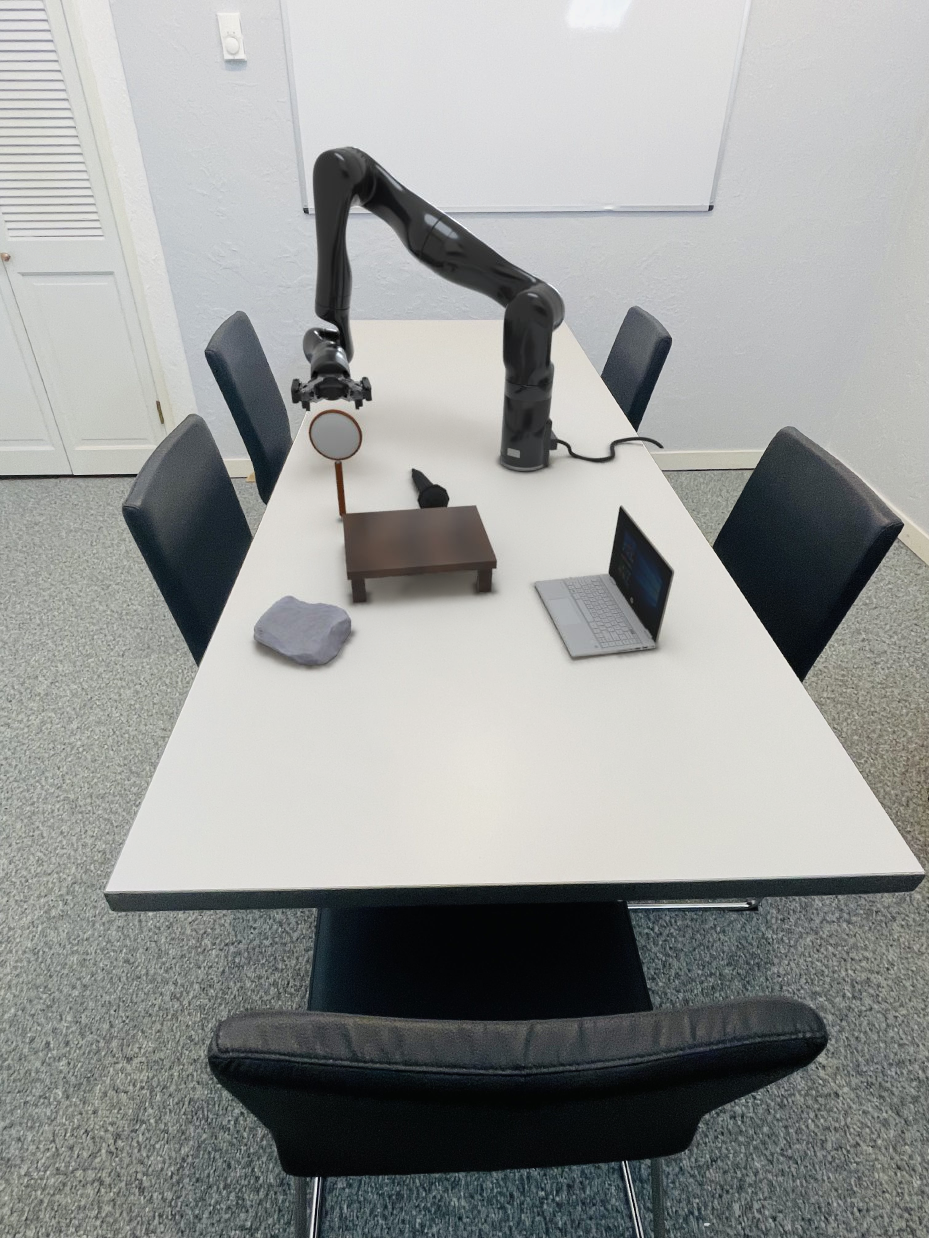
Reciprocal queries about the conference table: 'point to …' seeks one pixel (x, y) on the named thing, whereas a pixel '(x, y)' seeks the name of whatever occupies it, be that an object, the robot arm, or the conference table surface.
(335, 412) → the magnifying glass
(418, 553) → the walnut table
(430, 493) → the microphone
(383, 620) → the conference table surface
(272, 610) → the stone block
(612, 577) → the laptop
